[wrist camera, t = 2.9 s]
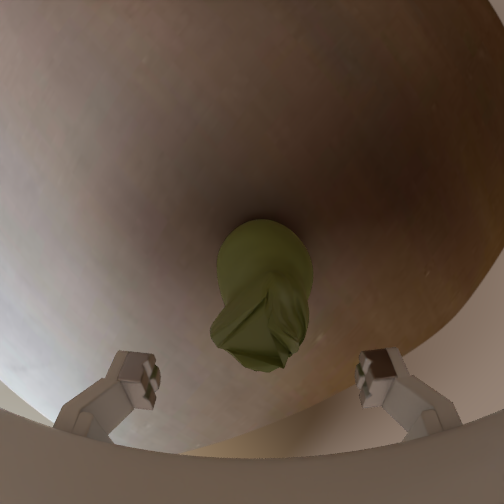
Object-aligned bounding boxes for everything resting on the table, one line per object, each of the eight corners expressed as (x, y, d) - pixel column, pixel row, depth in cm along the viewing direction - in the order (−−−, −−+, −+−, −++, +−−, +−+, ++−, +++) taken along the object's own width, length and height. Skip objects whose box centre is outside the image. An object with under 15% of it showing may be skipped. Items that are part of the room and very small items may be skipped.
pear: (262, 292, 23) (263, 406, 14) (205, 248, 21) (171, 355, 12) (318, 242, 21) (355, 347, 12) (260, 190, 19) (262, 274, 10)
